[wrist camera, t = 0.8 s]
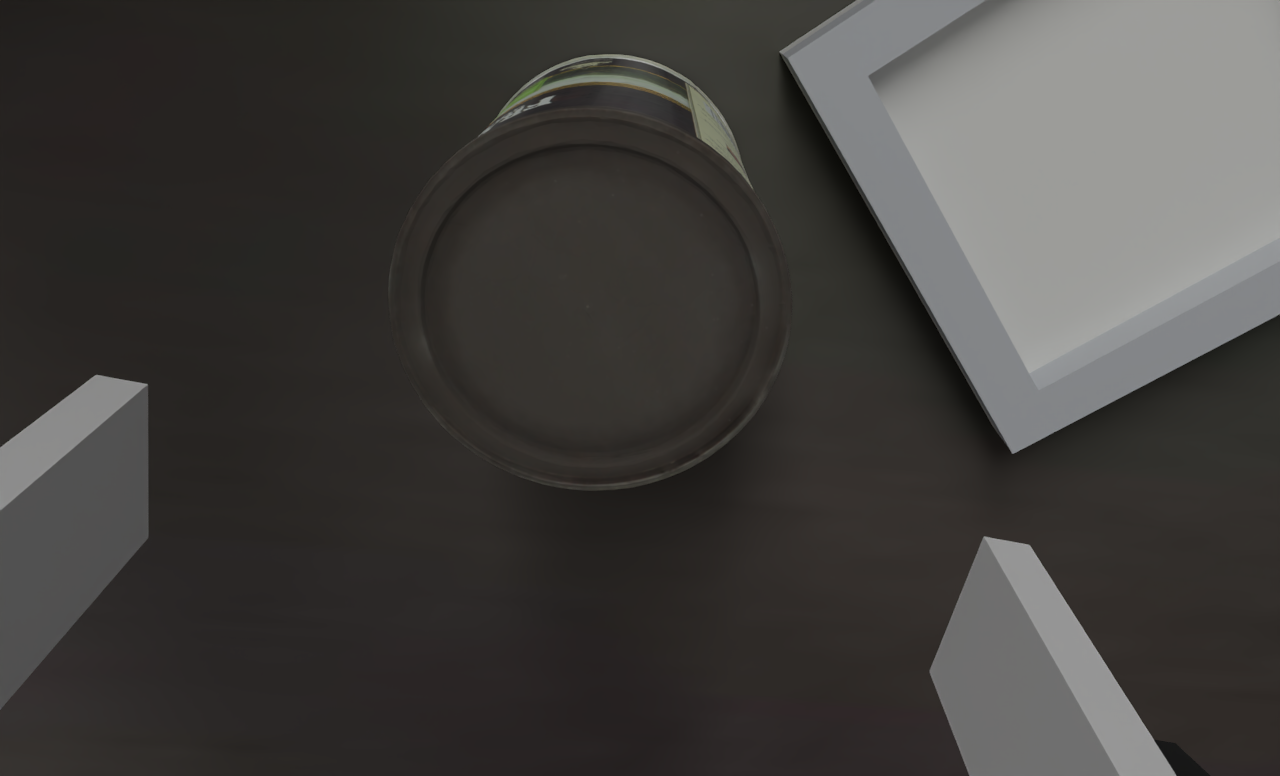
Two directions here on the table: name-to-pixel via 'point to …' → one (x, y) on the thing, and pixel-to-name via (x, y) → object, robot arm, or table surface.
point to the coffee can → (593, 281)
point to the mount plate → (1063, 181)
